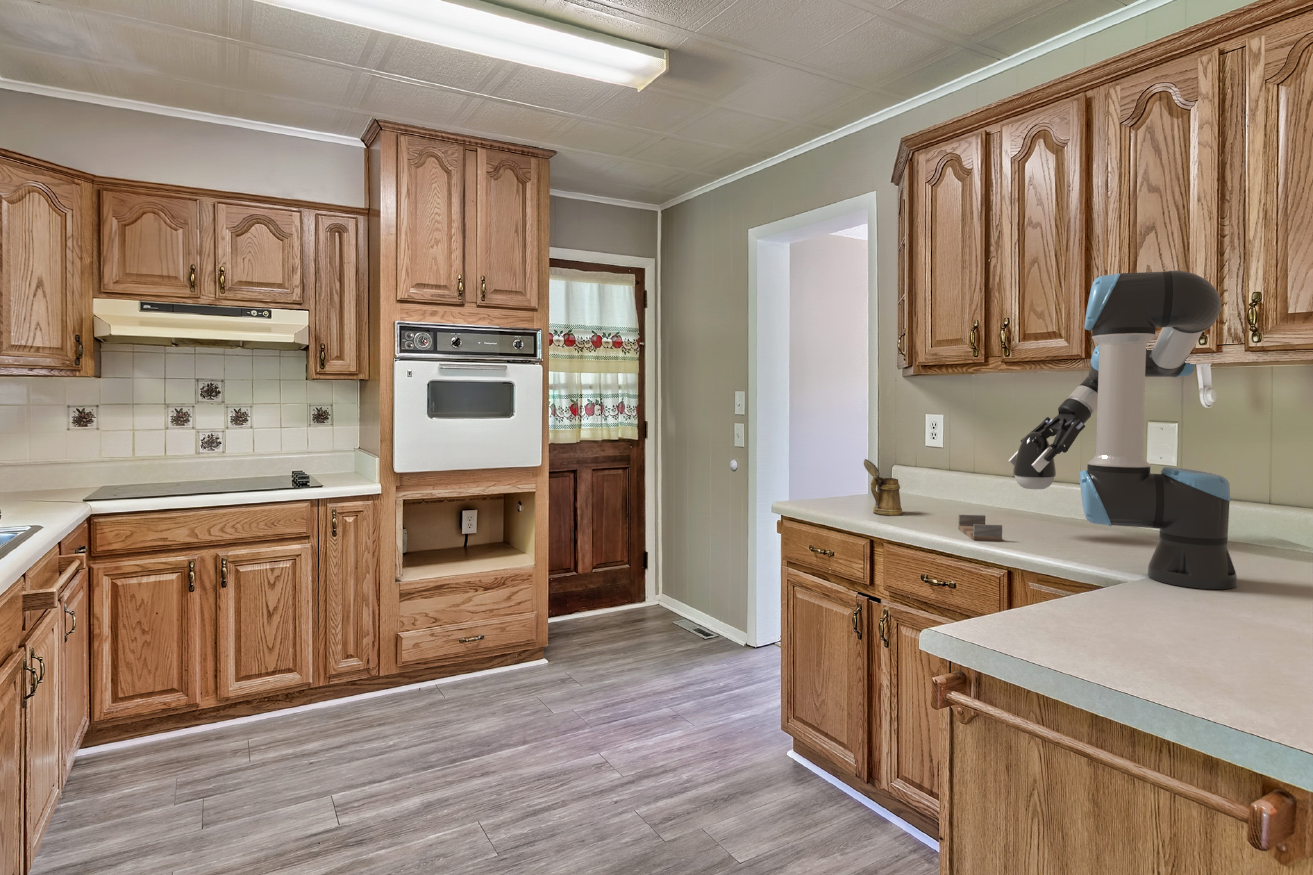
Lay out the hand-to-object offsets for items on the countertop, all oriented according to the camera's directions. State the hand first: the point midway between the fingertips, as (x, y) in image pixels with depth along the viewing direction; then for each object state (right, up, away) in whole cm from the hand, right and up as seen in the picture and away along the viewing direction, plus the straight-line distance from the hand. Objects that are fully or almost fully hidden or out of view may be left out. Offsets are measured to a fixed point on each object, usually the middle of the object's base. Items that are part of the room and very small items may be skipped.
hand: (1023, 466), depth 202 cm
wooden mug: (-26, -17, +39) cm, 50 cm away
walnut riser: (-10, -19, +4) cm, 22 cm away
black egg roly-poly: (+3, -6, +1) cm, 7 cm away
